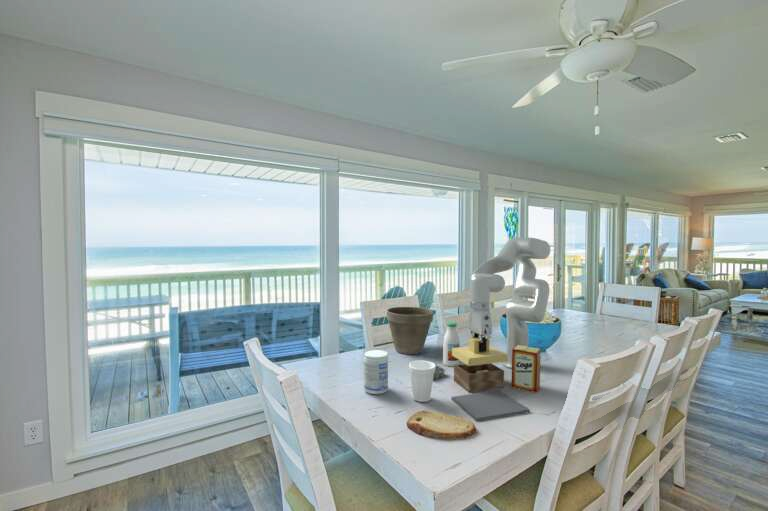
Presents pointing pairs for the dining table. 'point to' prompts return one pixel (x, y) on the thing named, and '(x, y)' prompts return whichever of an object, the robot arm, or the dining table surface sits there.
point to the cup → (422, 379)
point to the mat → (489, 405)
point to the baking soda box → (526, 368)
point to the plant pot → (409, 328)
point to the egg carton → (438, 372)
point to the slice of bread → (441, 425)
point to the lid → (478, 354)
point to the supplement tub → (376, 372)
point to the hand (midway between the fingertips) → (479, 349)
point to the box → (478, 377)
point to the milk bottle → (450, 344)
